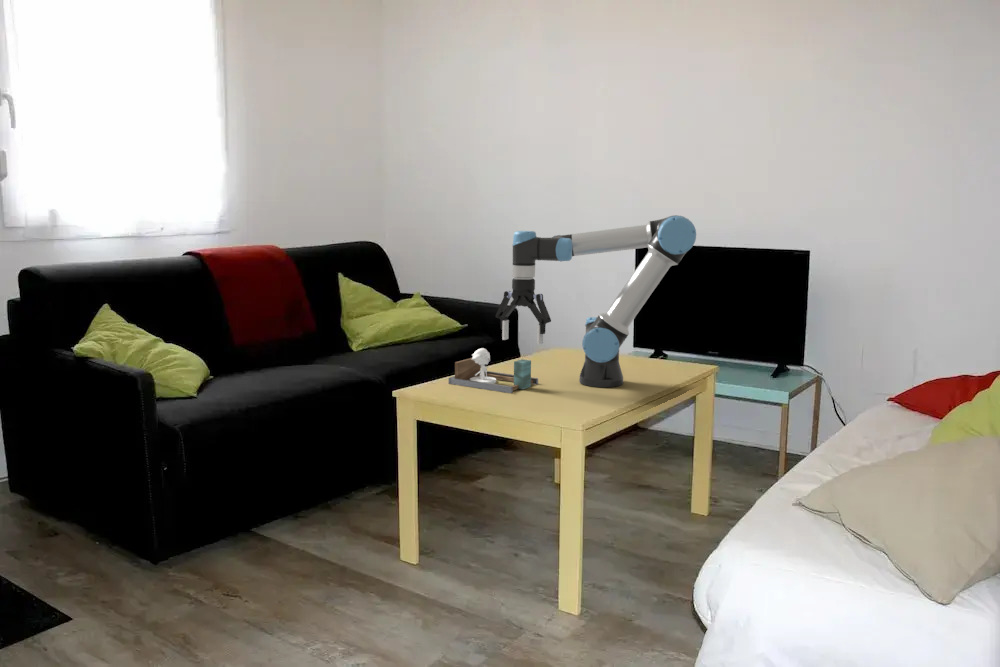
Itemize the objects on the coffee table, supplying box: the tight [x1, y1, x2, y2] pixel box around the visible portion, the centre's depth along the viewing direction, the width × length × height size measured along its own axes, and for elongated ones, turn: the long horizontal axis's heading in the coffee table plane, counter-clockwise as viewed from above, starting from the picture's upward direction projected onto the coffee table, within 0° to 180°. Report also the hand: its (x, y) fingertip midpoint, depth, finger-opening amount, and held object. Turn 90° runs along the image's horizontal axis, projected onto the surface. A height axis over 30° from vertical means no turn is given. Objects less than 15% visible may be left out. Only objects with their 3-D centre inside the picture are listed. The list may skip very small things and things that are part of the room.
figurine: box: [469, 347, 497, 384], centre depth 299 cm, size 9×9×12 cm
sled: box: [454, 357, 534, 392], centre depth 296 cm, size 25×14×9 cm, turn 57°
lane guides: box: [448, 370, 539, 394], centre depth 297 cm, size 25×17×2 cm
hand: (522, 341), depth 289 cm, fingers open, 13 cm apart
